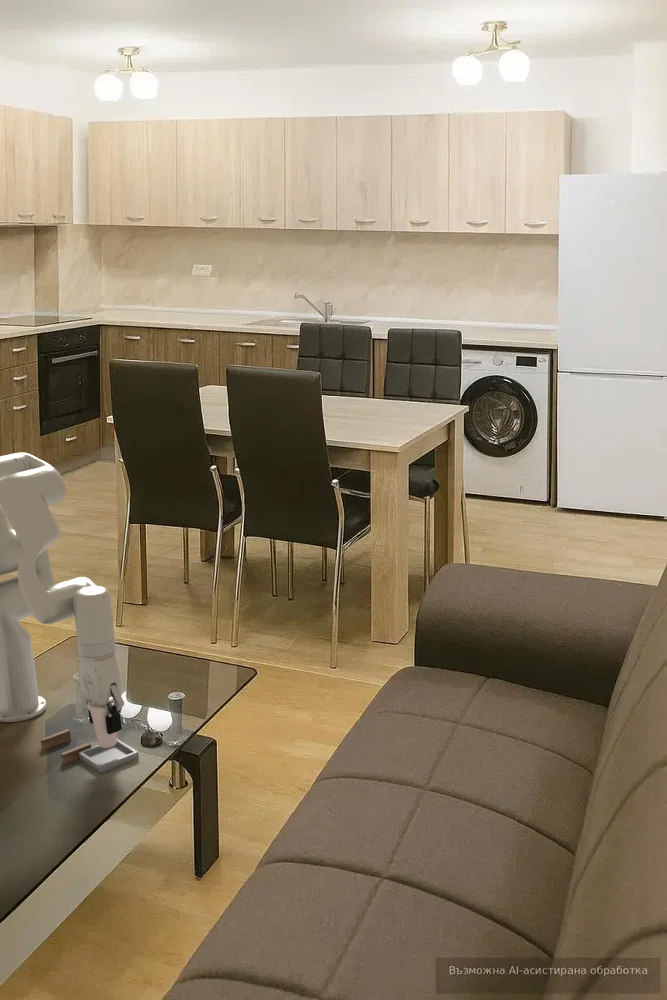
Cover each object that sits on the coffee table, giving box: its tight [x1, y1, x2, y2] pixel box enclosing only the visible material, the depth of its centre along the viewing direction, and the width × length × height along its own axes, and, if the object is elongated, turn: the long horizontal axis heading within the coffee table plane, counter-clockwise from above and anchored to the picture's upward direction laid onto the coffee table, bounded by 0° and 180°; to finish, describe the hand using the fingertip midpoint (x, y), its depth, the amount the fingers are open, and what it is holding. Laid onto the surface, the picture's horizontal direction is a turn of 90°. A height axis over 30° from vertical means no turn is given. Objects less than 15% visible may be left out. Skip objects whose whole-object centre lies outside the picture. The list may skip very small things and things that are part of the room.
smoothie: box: [87, 697, 118, 748], centre depth 229 cm, size 6×6×14 cm
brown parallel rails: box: [40, 728, 92, 765], centre depth 236 cm, size 10×6×2 cm, turn 42°
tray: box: [78, 738, 140, 775], centre depth 232 cm, size 9×9×2 cm
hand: (105, 725), depth 230 cm, fingers closed on smoothie, 6 cm apart
